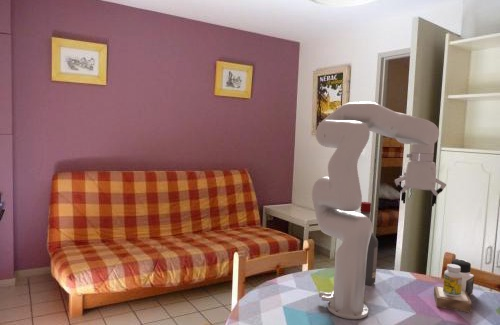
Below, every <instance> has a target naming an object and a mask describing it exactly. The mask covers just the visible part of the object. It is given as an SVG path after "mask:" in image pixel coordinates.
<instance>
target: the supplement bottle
mask: <svg viewBox="0 0 500 325" xmlns="http://www.w3.org/2000/svg"><path fill="white" fill-rule="evenodd" d="M460 271H461V267H460V266H458V265H455V264H451V263H447V265H446V270H444V273H443V274H444V275H443V292H444V293H445V294H446V295H449V296H454V297H458V296H460V295H461V287H462V274H461V273H460Z"/></svg>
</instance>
